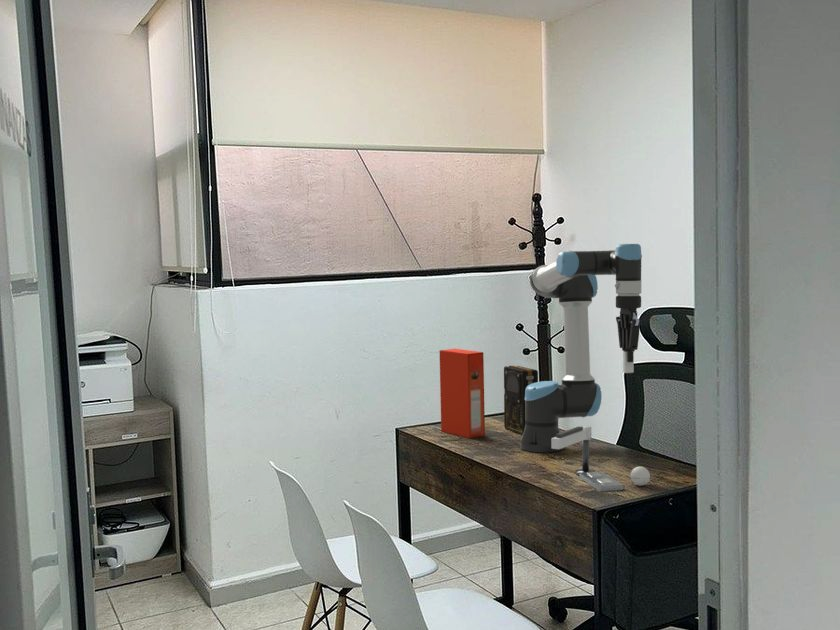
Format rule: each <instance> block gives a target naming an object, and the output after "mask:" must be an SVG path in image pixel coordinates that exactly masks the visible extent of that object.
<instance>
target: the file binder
mask: <svg viewBox="0 0 840 630" xmlns="http://www.w3.org/2000/svg"><path fill="white" fill-rule="evenodd" d="M484 361H485V360H484V352H483V351H477V350H469V349H468V350H467V349H460V348H449V349H448V348H447V349H441V350H439V383H440V384H439V385H440V386H439V387H440V389H439V390H440V392H439V393H440V431H441V432H443V433H446V434H447V433H448V434H450V435H455V436H460V437H463V438H467V439H473V438H479V437H484V436H486V425H485V424H486V422H485V417H486V416H485V375H484V373H485V371H484V370H485V368H484V367H485V365H484V363H485V362H484Z"/></svg>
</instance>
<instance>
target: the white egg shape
mask: <svg viewBox="0 0 840 630" xmlns="http://www.w3.org/2000/svg"><path fill="white" fill-rule="evenodd" d="M629 475H630V479H631V482H632V483H633V484H634V485H636V486H640V487H641V486H645V485H647V484H648V483H649V481H650V480H651V475H650V472H649V470H648V469H647V468H646V467H644V466H636V467H634V468H632V470H631V472H630V474H629Z"/></svg>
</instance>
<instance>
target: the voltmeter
mask: <svg viewBox="0 0 840 630" xmlns="http://www.w3.org/2000/svg"><path fill="white" fill-rule="evenodd" d="M536 382H539V372H538V370H537V369H533V368H528V367H524V366H520V365H509V366H508V365H507V366H506V365H505V366H504V367H503V389H504V390H503V391H504V393H503V406H504V407H503V410H504V411H503V412H504V414H503V416H504V419H503V420H504V423H503V424H504V426H503V427H504V428H505V429H506V430H509V431H511V432H514V433H516V434H519V435H521V436H522V435H523V432H524V429H525V390H526V387H527V386H528V385H530V384H532V383H536Z"/></svg>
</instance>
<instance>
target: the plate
mask: <svg viewBox="0 0 840 630" xmlns="http://www.w3.org/2000/svg"><path fill="white" fill-rule="evenodd" d="M578 478H579V479H580V480H582V481H584V482H585V483H587V484H588V485H589V486H591V487H592V488H594V489H596V490H597V491H598V492H612V491H623V490H624V487H623V485H624V484H622V483H620V482H619V481H617V480H615V479H614V478H612V477H611V476H609V475H608V474H606V473H604V472H602V471H600V470H599V471H595V472H585V473H579V476H578Z"/></svg>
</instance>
